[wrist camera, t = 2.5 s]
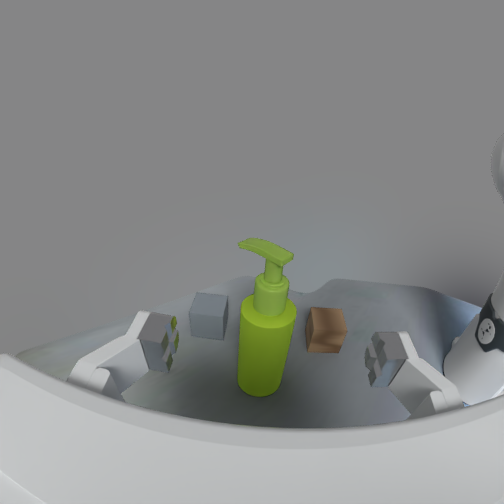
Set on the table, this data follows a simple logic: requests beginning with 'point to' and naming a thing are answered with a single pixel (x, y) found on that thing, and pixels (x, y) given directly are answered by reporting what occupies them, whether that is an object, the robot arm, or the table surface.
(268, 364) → the soap dispenser
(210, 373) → the table surface
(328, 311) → the walnut block
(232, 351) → the table surface
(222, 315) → the slate-grey block
